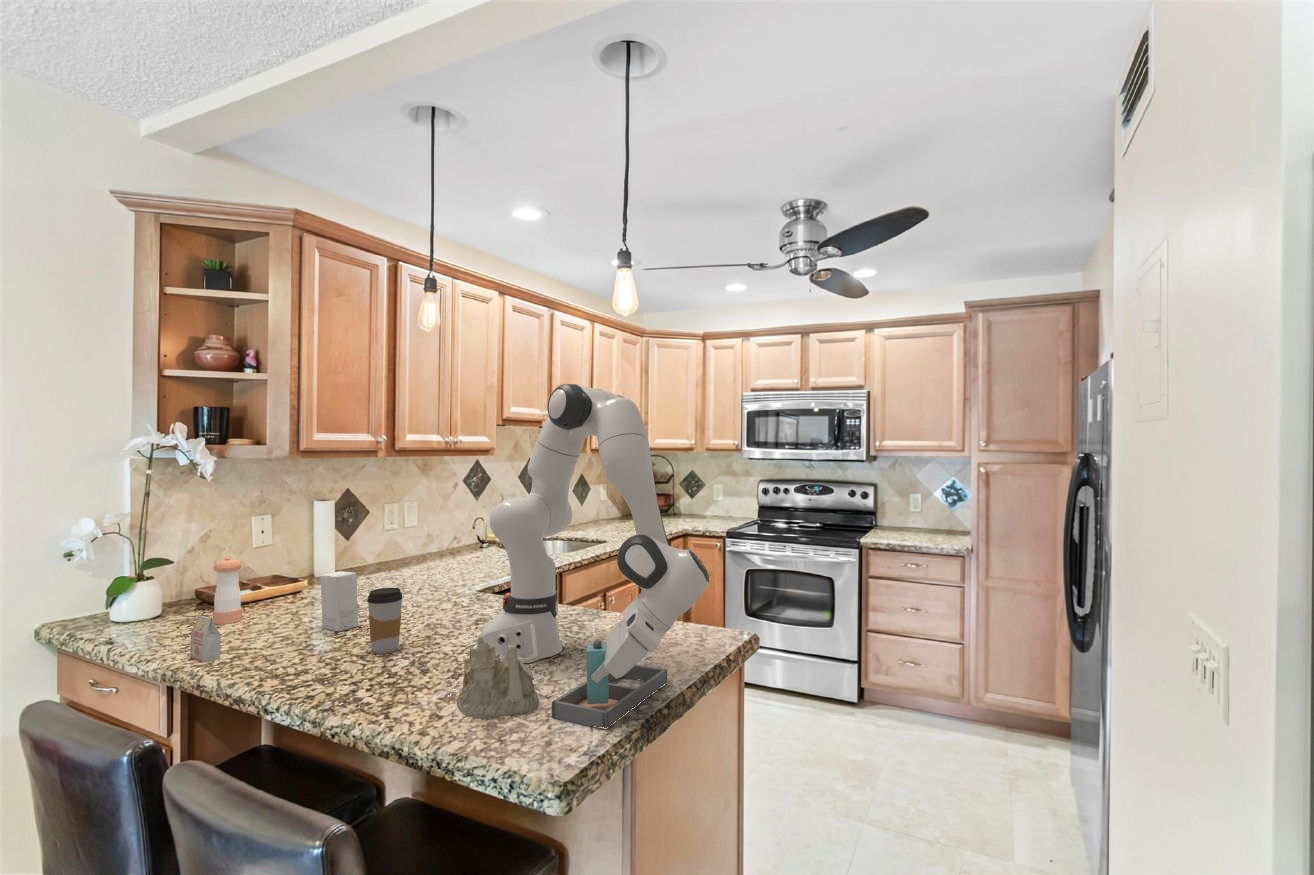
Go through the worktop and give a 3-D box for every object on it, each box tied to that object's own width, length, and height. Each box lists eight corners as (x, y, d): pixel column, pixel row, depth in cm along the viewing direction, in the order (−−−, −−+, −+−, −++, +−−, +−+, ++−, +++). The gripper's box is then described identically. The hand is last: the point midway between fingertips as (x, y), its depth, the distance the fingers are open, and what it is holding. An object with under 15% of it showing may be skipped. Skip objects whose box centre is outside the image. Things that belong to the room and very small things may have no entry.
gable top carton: (207, 653, 161) (207, 613, 161) (220, 657, 157) (220, 617, 157) (190, 657, 157) (190, 616, 158) (203, 662, 154) (203, 620, 154)
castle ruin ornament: (537, 714, 121) (533, 634, 123) (448, 722, 120) (446, 641, 121) (543, 689, 137) (540, 618, 138) (464, 696, 135) (462, 624, 136)
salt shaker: (231, 624, 187) (231, 559, 187) (206, 624, 187) (207, 559, 188) (247, 617, 194) (247, 555, 195) (224, 618, 195) (224, 555, 195)
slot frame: (606, 729, 115) (606, 713, 115) (551, 717, 120) (551, 701, 120) (667, 683, 137) (667, 669, 137) (619, 675, 142) (618, 661, 142)
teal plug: (587, 704, 121) (586, 644, 121) (588, 696, 125) (587, 638, 125) (608, 703, 121) (607, 644, 122) (608, 695, 125) (607, 638, 126)
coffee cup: (408, 649, 162) (408, 590, 162) (375, 657, 156) (375, 596, 156) (394, 642, 168) (393, 585, 168) (361, 650, 162) (361, 591, 162)
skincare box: (358, 627, 183) (358, 572, 184) (336, 632, 178) (336, 576, 178) (341, 622, 188) (341, 570, 188) (319, 628, 182) (319, 573, 183)
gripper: (631, 598, 134) (585, 646, 134) (633, 625, 114) (579, 681, 113) (653, 619, 134) (607, 667, 134) (658, 649, 114) (604, 706, 113)
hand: (594, 674), depth 123 cm, fingers closed on teal plug, 4 cm apart
